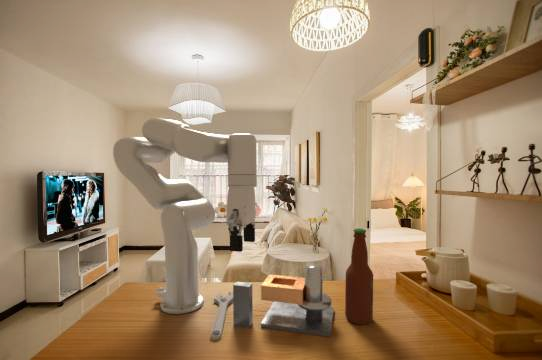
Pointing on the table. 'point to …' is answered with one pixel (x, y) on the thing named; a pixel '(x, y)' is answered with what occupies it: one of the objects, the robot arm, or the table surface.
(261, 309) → the table surface
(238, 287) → the grey rectangular block
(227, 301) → the adjustable wrench
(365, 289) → the bottle
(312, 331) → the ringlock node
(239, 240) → the robot arm
